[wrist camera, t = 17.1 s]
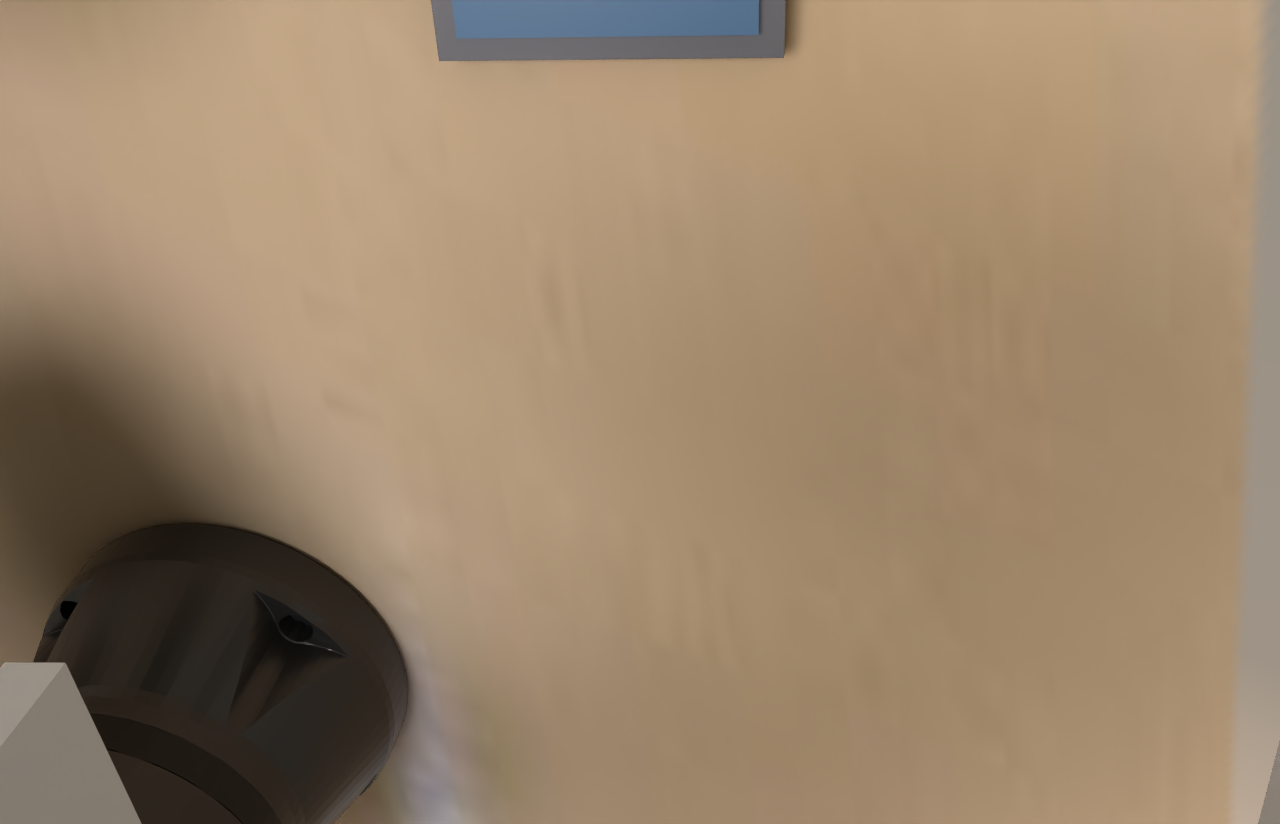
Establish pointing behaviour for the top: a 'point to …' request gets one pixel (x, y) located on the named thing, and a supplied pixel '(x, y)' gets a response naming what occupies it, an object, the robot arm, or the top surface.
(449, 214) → the top surface
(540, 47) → the ink pad
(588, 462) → the top surface
